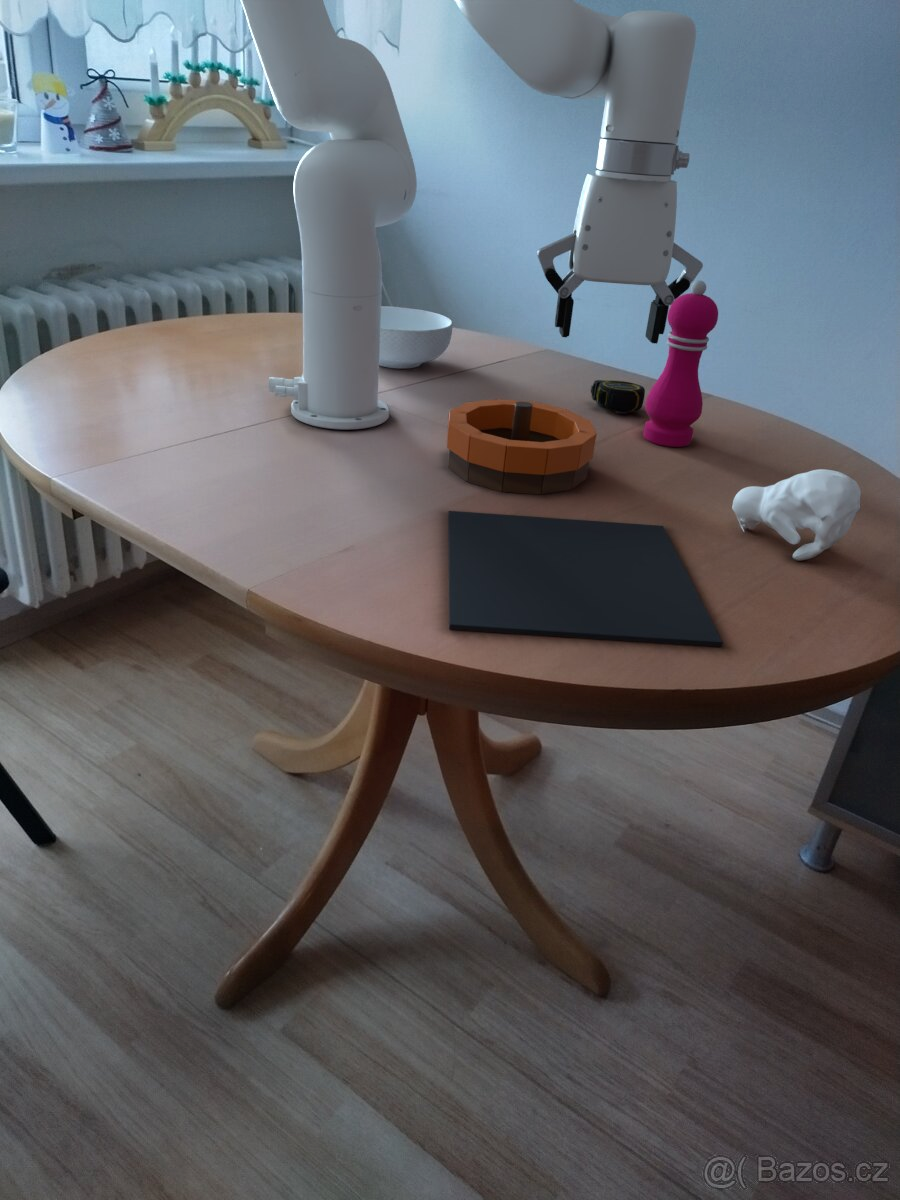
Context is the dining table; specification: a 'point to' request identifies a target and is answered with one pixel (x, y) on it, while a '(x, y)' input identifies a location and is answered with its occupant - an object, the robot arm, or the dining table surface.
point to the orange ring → (514, 453)
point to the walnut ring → (516, 480)
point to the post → (521, 421)
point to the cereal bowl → (412, 336)
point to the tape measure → (618, 395)
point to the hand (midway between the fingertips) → (607, 337)
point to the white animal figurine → (802, 508)
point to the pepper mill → (681, 370)
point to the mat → (571, 580)
